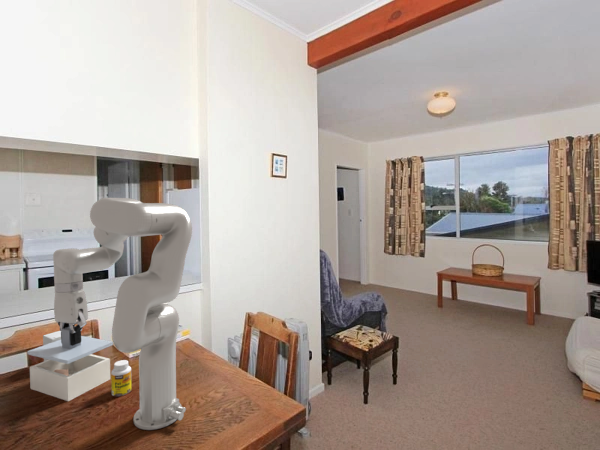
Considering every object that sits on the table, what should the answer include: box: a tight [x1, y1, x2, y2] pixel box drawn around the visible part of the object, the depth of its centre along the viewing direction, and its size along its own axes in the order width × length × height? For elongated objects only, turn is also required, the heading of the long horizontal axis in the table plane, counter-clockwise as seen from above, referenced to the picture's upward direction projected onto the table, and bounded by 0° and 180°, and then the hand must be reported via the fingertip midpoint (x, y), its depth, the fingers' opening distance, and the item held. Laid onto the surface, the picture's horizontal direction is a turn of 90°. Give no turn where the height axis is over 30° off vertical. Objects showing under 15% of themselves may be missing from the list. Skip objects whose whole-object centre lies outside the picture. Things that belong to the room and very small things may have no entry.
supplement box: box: [42, 330, 61, 362], centre depth 122 cm, size 7×7×13 cm
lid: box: [27, 325, 114, 364], centre depth 109 cm, size 19×15×7 cm
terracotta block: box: [53, 369, 68, 376], centre depth 109 cm, size 4×4×4 cm
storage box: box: [29, 353, 111, 402], centre depth 109 cm, size 18×14×8 cm
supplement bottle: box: [110, 359, 132, 397], centre depth 105 cm, size 6×6×10 cm
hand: (71, 342), depth 109 cm, fingers closed on lid, 3 cm apart
